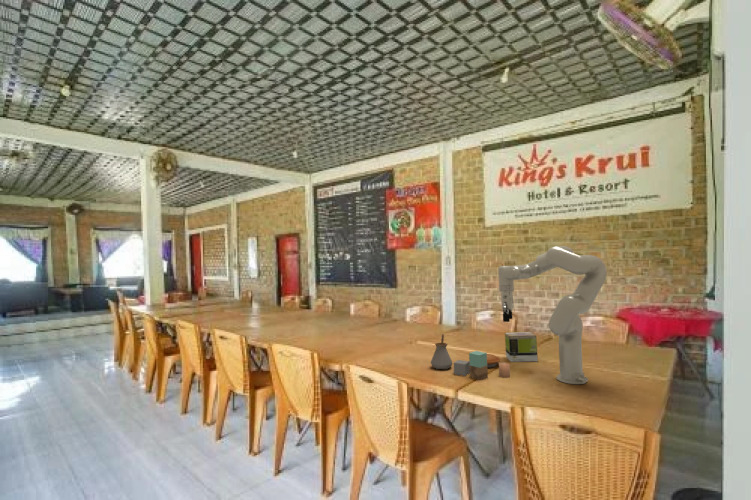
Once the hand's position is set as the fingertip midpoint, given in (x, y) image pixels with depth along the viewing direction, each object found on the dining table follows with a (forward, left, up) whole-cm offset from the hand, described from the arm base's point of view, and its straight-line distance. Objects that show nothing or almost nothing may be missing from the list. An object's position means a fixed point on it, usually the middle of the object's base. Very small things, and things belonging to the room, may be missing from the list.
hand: (507, 320), depth 204 cm
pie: (+6, +11, -25) cm, 28 cm away
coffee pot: (+13, +33, -25) cm, 43 cm away
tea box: (+8, -13, -25) cm, 29 cm away
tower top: (-12, +25, -18) cm, 34 cm away
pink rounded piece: (-14, +12, -24) cm, 31 cm away
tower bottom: (-12, +25, -24) cm, 37 cm away
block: (-4, +30, -24) cm, 39 cm away
